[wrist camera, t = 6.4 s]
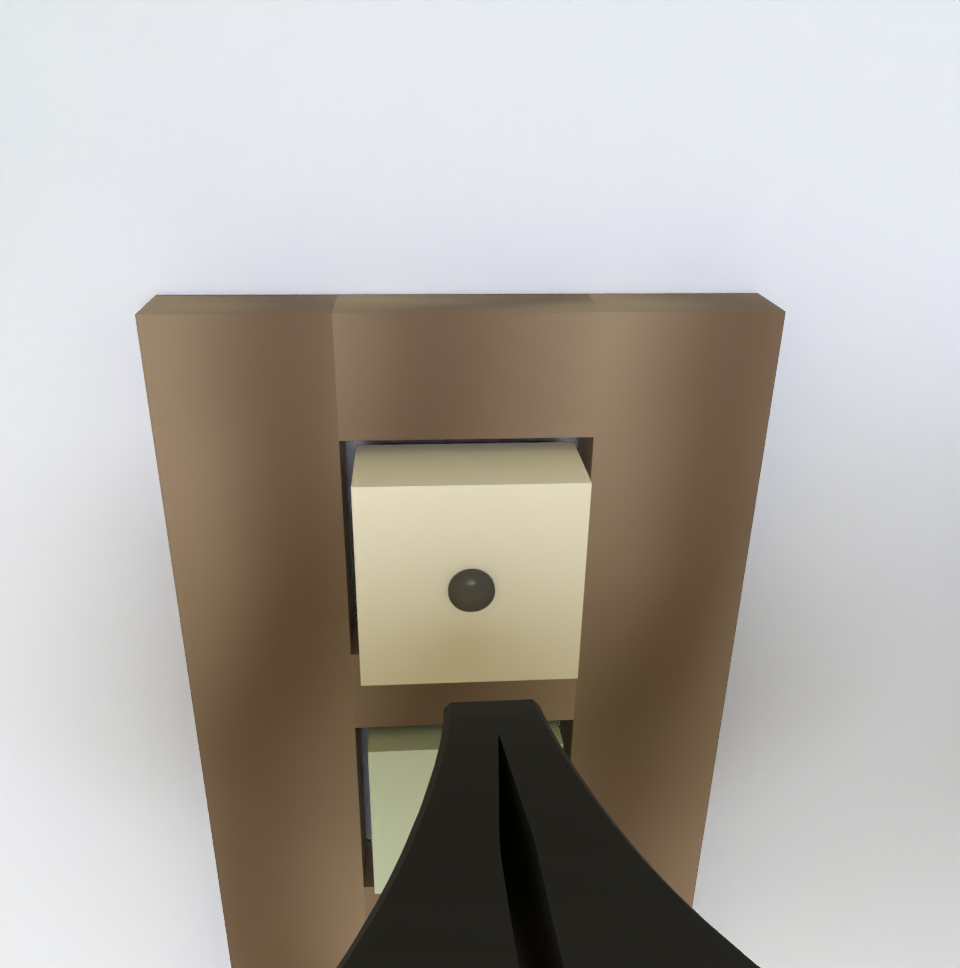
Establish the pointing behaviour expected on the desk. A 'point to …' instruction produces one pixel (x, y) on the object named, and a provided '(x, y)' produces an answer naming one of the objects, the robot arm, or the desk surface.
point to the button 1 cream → (469, 561)
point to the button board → (328, 568)
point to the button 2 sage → (401, 787)
